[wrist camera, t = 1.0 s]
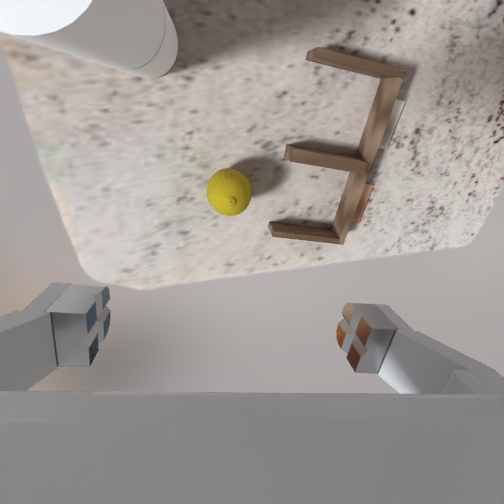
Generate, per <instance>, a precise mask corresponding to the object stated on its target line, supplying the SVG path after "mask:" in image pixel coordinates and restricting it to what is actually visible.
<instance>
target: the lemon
mask: <svg viewBox="0 0 504 504" xmlns="http://www.w3.org/2000/svg"><path fill="white" fill-rule="evenodd" d="M251 194H252V191H251V185H250V183H249V181H248V179H247V178H246V176H245V175H244V174H243V173H241V172H240V171H238V170H235V169H231V168H226V169H222V170H219V171H217V172H216V173H215V174H213V176H212V177H211V178H210V180H209V182H208V185H207V197H208V200H209V202H210V204H211V206H212V207H213V208H214V209H215V210H216V211H217V212H219V213H221V214H223V215H227V216H233V215H237V214H239V213H241V212H243V211H244V210H245V209H246V208H247V206H248V205H249V203H250V200H251Z"/></svg>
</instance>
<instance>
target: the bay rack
mask: <svg viewBox="0 0 504 504" xmlns="http://www.w3.org/2000/svg"><path fill="white" fill-rule="evenodd" d="M306 60H308V61H312V62H316V63H320V64H324V65H328V66H332V67H336V68H340V69H344V70H348V71H352V72H356V73H360V74H364V75H368V76H372V77H376V78H380V79H381V81H380V84H379V87H378V90H377V93H376V96H375V99H374V102H373V105H372V108H371V111H370V114H369V117H368V120H367V123H366V126H365V129H364V132H363V135H362V138H361V141H360V144H359V147H358V150H357V153H356V156H355V157H351V156H345V155H340V154H334V153H329V152H323V151H318V150H313V149H307V148H302V147H296V146H291V145H287V146H286V150H285V155H284V157H286V158H287V159H288V160H289V161H291V162H297V163H303V164H309V165H314V166H320V167H326V168H332V169H338V170H343V171H349V172H350V174H349V177H348V180H347V183H346V186H345V189H344V192H343V195H342V198H341V201H340V204H339V207H338V210H337V213H336V216H335V219H334V222H333V225H332V228H331V229H323V228H315V227H307V226H299V225H290V224H282V223H274V222H269V226H268V227H269V230H270V232H271V234H272V236H273V237H280V238H289V239H298V240H307V241H316V242H324V243H333V244H342V245H343V244H344V241H345V238H346V236H347V233H348V230H349V227H350V225H351V222H354V223H359V222H360V219H361V217H362V214H363V211H364V209H365V206H366V203H367V201H368V198H369V195H370V193H371V190H372V187H373V185H372V184H366V181H367V178H368V175H369V172H370V170H371V167H372V164H373V161H374V159H375V156H376V153H377V150H378V148H381V149H386V150H387V148H388V145H389V142H390V140H391V137H392V134H393V132H394V129H395V127H396V124H397V121H398V119H399V116H400V113H401V111H402V108H403V105H404V103H405V101H402V100H398V99H396V98H397V95H398V93H399V90H400V87H401V84H402V82H403V79H404V76H405V74H406V71H407V70H403V69H399V68H396V67H392V66H388V65H384V64H381V63H377V62H373V61H369V60H365V59H362V58H358V57H354V56H350V55H346V54H343V53H339V52H335V51H331V50H328V49H324V48H320V47H317V48H315V49H312V50H310V51H308V52H307V57H306Z"/></svg>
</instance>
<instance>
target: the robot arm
mask: <svg viewBox="0 0 504 504" xmlns="http://www.w3.org/2000/svg"><path fill="white" fill-rule="evenodd" d="M109 299H110V295H109V288H108V287H107V286H97V285H85V284H72V283H59V282H55V283H52V284H51V285H50V286H49V287H47V288H46V289H45V290H44V291H43V292H42V293H41V294H40V295H39V296H38V297H37V298H36V299H35V300H33V301H32V302H31V303H30V304H29V305H28V306H27V307H26V308H25V309H24V310H23V311H14V312H11V313H8V314H6V315H3V316H0V504H504V377H503V376H501V375H500V374H499V373H498V372H497V371H496V370H494V369H492V368H490V367H488V366H486V365H484V364H482V363H480V362H478V361H476V360H474V359H472V358H470V357H468V356H466V355H464V354H462V353H460V352H458V351H456V350H454V349H452V348H450V347H448V346H446V345H444V344H442V343H440V342H438V341H436V340H434V339H432V338H430V337H428V336H426V335H424V334H423V333H420V332H419V331H414V330H413V329H411V327H410V326H409V325H408V324H407V323H405V321H403V320H402V319H401V318H400V317H399V316H398V315H397V314H396V313H395V312H394V311H393V310H392V309H391V308H390V307H389V306H387V305H385V304H359V303H346V305H345V306H344V308H343V311H342V314H343V317H344V319H343V320H341V321H340V322H339V323H338V327H337V331H336V332H337V341H338V344H339V346H340V348H341V349H342V350H344V351H345V352H346V353H348V355H347V360H348V361H349V363H350V365H351V366H352V368H353V370H354V372H356V373H375V374H378V375H379V376H380V377H381V378H382V379H384V380H385V381H386V382H387V383H388V384H390V385H391V386H392V387H393V388H394V389H396V390H397V391H398V392H399V393H400V394H368V393H366V394H365V393H364V394H363V393H362V394H361V393H234V392H233V393H232V392H230V393H229V392H108V391H104V392H103V391H102V392H100V391H27V390H28V389H29V388H30V387H32V386H33V385H35V384H36V383H38V382H39V381H40V380H42V379H43V378H45V377H46V376H47V375H49V374H50V373H52V372H53V371H54V370H56V369H57V367H90V366H91V364H92V362H93V360H94V358H95V356H96V354H97V353H98V351H99V348H98V343H100V342H102V341H103V340H104V339H105V337H106V335H107V333H108V329H109V325H110V310H109V309H108V307H107V306H106V304H107V303H108V301H109Z"/></svg>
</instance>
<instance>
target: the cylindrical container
mask: <svg viewBox="0 0 504 504" xmlns="http://www.w3.org/2000/svg"><path fill="white" fill-rule="evenodd" d="M0 32H2V33H5V34H8V35H11V36H14V37H18V38H21V39H24V40H27V41H30V42H33V43H36V44H39V45H42V46H46V47H49V48H52V49H55V50H58V51H61V52H64V53H67V54H70V55H74V56H77V57H80V58H83V59H86V60H89V61H92V62H95V63H99V64H102V65H105V66H108V67H111V68H114V69H117V70H120V71H123V72H126V73H129V74H133V75H136V76H139V77H143V78H157V77H160V76H162V75H164V74H165V73H167V72H168V71H169V70H170V69H171V67H172V66H173V64H174V62H175V60H176V57H177V53H178V37H177V33H176V29H175V26H174V24H173V22H172V20H171V17H170V15H169V13H168V11H167V9H166V6H165V4H164V2H163V0H0Z"/></svg>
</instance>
